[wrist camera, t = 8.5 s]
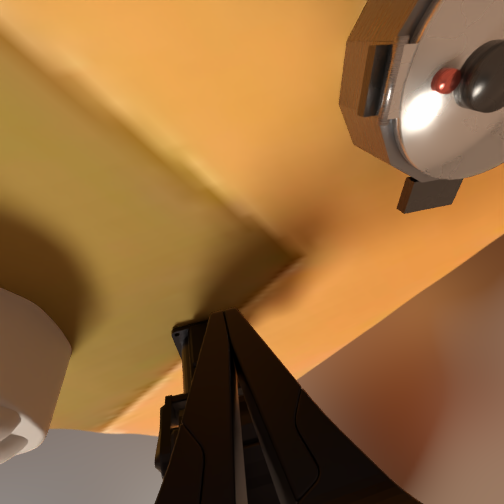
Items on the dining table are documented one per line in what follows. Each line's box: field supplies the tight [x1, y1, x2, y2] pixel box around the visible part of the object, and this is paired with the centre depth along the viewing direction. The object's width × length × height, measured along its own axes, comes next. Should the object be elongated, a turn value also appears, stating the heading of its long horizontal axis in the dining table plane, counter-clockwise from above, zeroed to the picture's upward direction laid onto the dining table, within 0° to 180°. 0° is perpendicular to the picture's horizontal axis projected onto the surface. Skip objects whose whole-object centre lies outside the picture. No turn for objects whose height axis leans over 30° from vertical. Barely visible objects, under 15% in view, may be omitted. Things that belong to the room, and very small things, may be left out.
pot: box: [339, 0, 463, 214], centre depth 16 cm, size 17×13×4 cm
